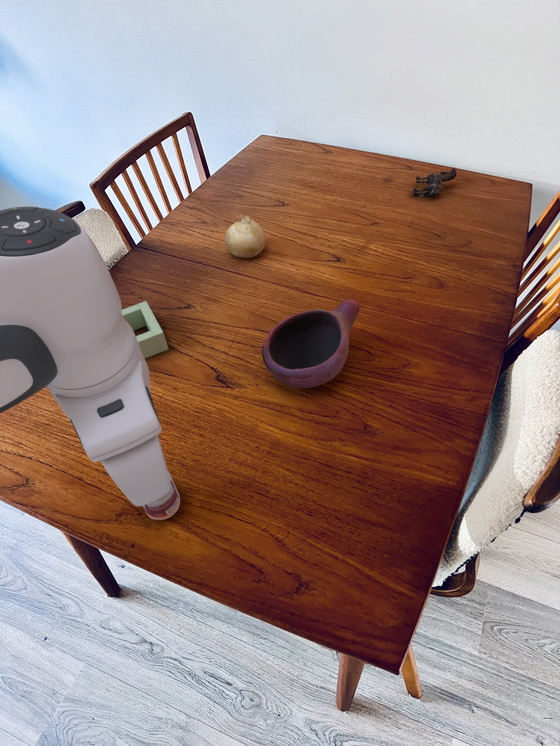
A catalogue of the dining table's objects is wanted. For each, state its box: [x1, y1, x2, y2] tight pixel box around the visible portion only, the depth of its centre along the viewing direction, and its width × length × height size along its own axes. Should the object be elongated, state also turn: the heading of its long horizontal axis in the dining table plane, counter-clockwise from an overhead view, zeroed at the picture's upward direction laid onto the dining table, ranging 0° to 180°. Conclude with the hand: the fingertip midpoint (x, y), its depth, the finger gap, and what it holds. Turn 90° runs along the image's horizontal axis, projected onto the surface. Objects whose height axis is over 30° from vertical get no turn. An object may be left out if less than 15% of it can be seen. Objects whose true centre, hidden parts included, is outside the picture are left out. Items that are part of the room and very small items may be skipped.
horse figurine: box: [386, 167, 457, 198], centre depth 113 cm, size 9×4×15 cm
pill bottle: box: [141, 470, 181, 521], centre depth 65 cm, size 5×5×8 cm
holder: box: [122, 300, 169, 359], centre depth 86 cm, size 16×9×4 cm, turn 118°
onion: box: [224, 214, 267, 259], centre depth 101 cm, size 8×8×7 cm
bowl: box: [261, 298, 360, 389], centre depth 80 cm, size 16×13×8 cm
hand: (139, 451), depth 59 cm, fingers open, 8 cm apart
